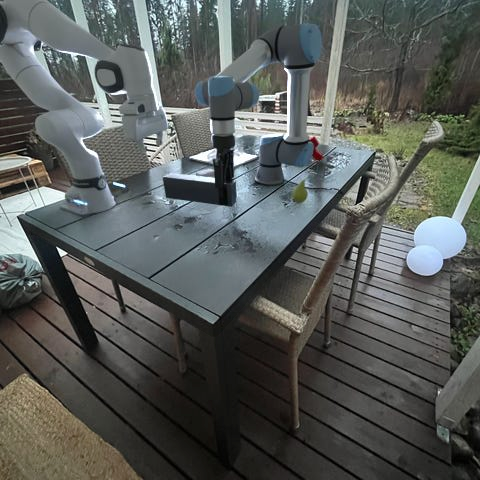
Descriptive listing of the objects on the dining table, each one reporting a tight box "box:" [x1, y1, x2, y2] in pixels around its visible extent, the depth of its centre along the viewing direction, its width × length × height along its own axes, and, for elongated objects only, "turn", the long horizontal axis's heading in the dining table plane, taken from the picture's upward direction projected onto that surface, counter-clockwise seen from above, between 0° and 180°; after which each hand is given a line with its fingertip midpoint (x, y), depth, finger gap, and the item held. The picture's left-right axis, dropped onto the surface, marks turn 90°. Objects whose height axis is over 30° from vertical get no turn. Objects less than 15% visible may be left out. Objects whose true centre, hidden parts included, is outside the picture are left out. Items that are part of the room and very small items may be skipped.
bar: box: [162, 172, 237, 208], centre depth 98 cm, size 26×5×8 cm, turn 72°
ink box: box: [195, 168, 215, 178], centre depth 125 cm, size 8×5×12 cm, turn 135°
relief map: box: [189, 148, 258, 169], centre depth 177 cm, size 27×35×5 cm
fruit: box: [291, 174, 311, 204], centre depth 118 cm, size 7×8×12 cm
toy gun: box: [309, 135, 324, 163], centre depth 171 cm, size 18×4×15 cm
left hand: (152, 148), depth 96 cm, fingers open, 8 cm apart
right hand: (225, 201), depth 97 cm, fingers closed on bar, 5 cm apart
